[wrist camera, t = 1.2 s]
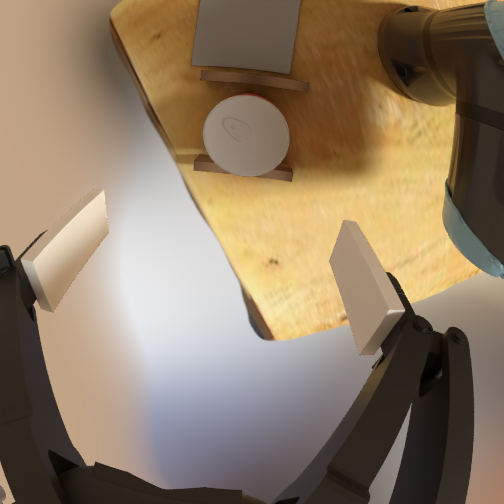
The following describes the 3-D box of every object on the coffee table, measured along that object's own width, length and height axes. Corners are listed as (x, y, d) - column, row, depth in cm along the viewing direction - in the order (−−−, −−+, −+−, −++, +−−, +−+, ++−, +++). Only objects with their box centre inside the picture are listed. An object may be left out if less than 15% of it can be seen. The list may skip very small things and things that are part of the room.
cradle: (304, 83, 29) (309, 83, 26) (288, 172, 36) (291, 181, 33) (207, 71, 28) (201, 70, 25) (199, 162, 35) (193, 170, 32)
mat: (301, -6, 21) (301, -7, 21) (289, 74, 28) (289, 74, 28) (204, -14, 21) (203, -15, 20) (192, 65, 27) (191, 65, 27)
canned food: (230, 84, 29) (218, 83, 20) (291, 107, 31) (305, 116, 22) (209, 137, 33) (190, 160, 24) (267, 159, 35) (270, 189, 26)
